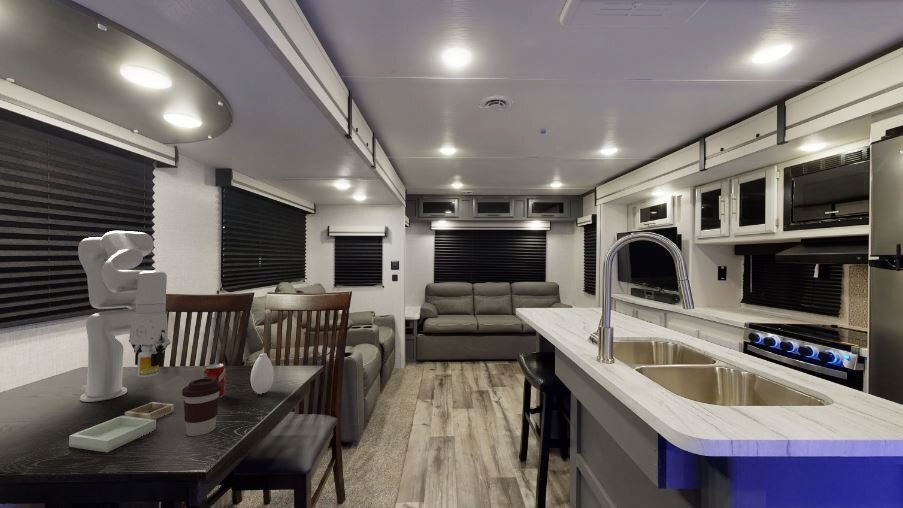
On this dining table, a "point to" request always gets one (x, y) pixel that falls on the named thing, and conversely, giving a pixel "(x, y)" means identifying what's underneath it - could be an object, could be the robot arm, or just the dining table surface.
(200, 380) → the coffee cup
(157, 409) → the socket collar
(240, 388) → the dining table surface
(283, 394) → the dining table surface
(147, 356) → the supplement bottle
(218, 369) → the soda can
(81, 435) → the tray
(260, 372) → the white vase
